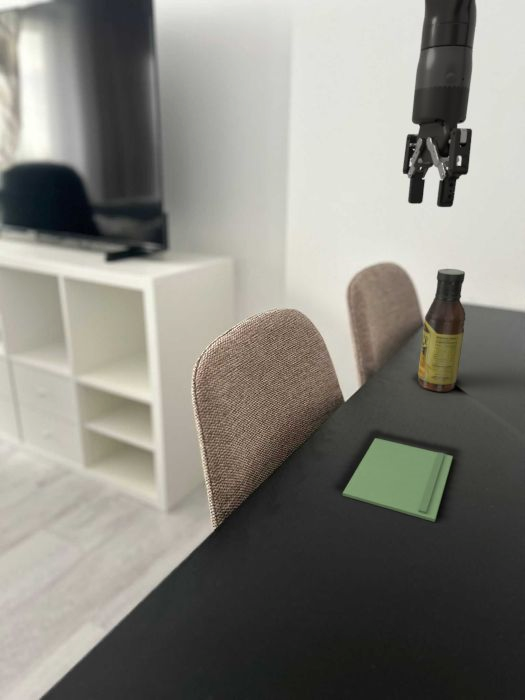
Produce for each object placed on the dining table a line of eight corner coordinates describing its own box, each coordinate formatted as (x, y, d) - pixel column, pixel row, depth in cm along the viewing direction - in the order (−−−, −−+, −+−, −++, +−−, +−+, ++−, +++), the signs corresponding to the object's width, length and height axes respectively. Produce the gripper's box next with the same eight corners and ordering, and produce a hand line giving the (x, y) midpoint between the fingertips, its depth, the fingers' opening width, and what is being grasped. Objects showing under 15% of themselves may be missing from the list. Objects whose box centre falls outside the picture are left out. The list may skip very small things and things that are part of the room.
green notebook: (374, 440, 69) (375, 435, 69) (452, 458, 65) (453, 454, 65) (342, 495, 57) (342, 490, 57) (434, 522, 53) (435, 516, 53)
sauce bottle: (422, 376, 91) (436, 265, 84) (458, 384, 88) (476, 269, 81) (412, 389, 86) (426, 271, 79) (450, 397, 83) (468, 275, 76)
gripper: (497, 80, 67) (479, 208, 73) (438, 95, 80) (426, 202, 86) (446, 78, 66) (431, 208, 71) (394, 93, 79) (385, 202, 84)
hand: (428, 205), depth 78 cm, fingers open, 8 cm apart
